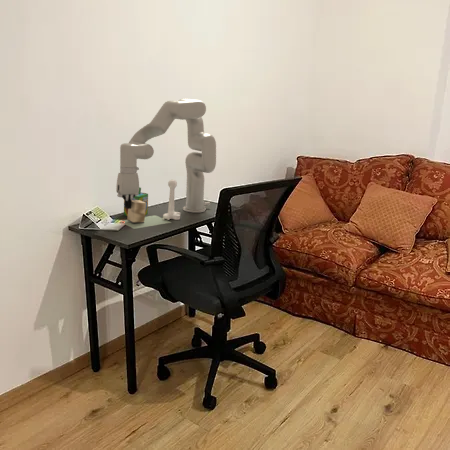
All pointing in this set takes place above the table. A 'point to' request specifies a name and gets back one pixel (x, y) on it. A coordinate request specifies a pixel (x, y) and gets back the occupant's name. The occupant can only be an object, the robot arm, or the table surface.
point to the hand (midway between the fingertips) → (128, 208)
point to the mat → (147, 222)
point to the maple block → (137, 212)
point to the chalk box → (141, 197)
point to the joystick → (171, 203)
